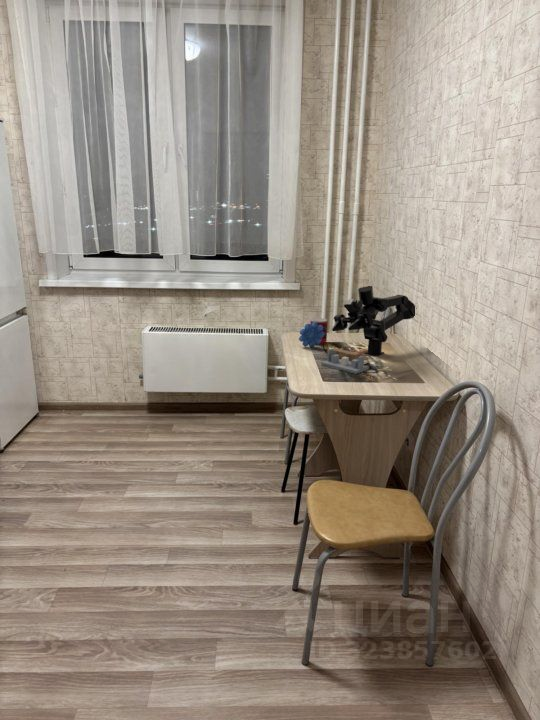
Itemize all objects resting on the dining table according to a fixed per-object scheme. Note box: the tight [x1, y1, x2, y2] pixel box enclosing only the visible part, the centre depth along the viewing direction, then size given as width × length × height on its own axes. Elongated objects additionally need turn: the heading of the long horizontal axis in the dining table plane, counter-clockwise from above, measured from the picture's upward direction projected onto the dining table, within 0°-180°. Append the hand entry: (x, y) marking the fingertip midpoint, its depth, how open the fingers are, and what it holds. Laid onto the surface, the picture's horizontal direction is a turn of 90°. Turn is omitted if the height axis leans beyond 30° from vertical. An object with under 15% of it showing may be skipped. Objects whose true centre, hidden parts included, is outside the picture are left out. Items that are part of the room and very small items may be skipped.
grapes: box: [298, 322, 325, 348], centre depth 246 cm, size 12×7×12 cm, turn 83°
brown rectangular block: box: [331, 347, 360, 361], centre depth 230 cm, size 13×4×3 cm, turn 48°
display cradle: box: [321, 348, 370, 375], centre depth 217 cm, size 9×17×6 cm, turn 48°
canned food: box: [309, 317, 328, 345], centre depth 254 cm, size 8×8×11 cm
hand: (340, 329), depth 217 cm, fingers open, 9 cm apart
